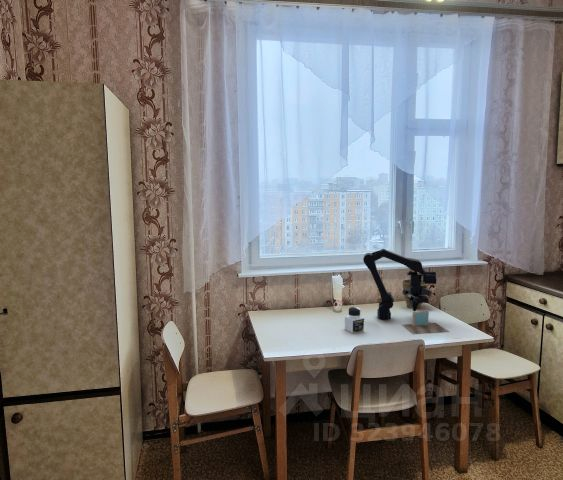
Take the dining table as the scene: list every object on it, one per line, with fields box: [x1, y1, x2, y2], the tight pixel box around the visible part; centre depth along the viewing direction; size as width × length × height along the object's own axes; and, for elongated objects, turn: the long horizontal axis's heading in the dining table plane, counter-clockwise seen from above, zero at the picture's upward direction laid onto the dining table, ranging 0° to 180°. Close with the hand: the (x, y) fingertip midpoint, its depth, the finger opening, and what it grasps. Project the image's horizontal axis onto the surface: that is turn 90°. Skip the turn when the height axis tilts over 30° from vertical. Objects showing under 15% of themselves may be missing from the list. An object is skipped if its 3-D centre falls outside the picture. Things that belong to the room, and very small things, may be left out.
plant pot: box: [402, 278, 429, 310], centre depth 249 cm, size 15×15×16 cm
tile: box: [411, 310, 430, 326], centre depth 215 cm, size 8×2×7 cm, turn 98°
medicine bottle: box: [344, 306, 365, 334], centre depth 211 cm, size 7×7×12 cm
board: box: [401, 322, 450, 335], centre depth 211 cm, size 20×14×1 cm
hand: (414, 311), depth 221 cm, fingers closed
